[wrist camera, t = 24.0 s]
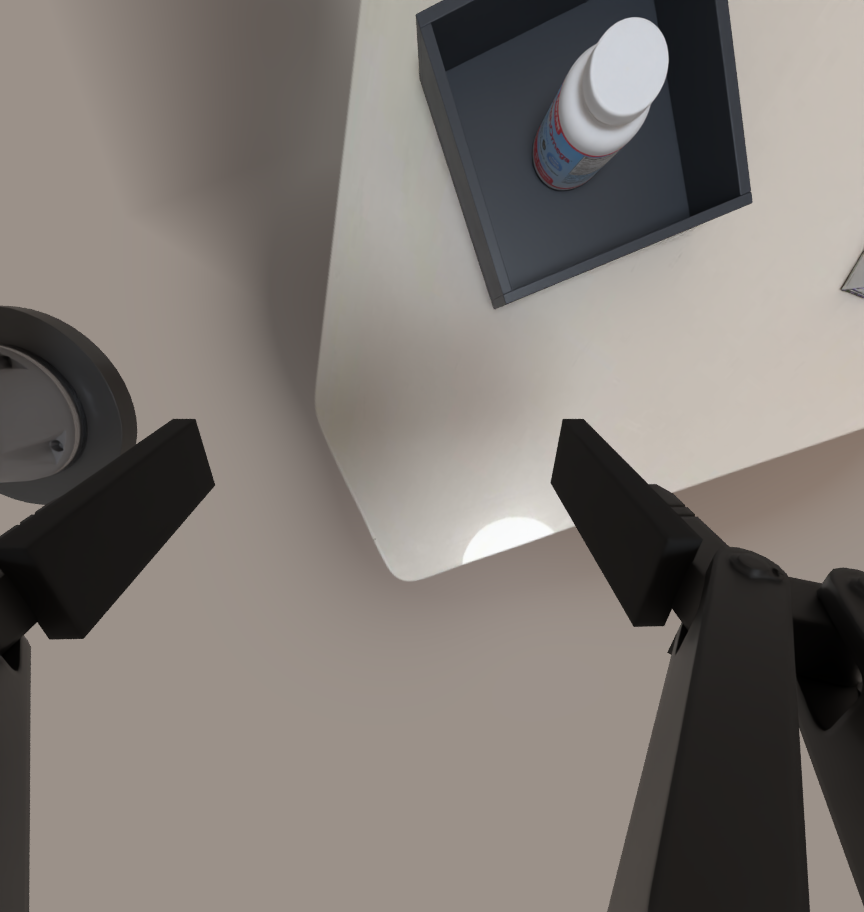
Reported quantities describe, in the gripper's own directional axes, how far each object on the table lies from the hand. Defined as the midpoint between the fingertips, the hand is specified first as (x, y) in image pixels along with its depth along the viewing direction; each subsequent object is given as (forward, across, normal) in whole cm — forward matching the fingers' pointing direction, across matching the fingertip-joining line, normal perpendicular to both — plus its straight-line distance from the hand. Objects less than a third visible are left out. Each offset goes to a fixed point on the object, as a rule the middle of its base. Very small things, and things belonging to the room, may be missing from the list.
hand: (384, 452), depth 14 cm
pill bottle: (+29, +14, +14) cm, 35 cm away
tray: (+29, +14, +14) cm, 36 cm away
